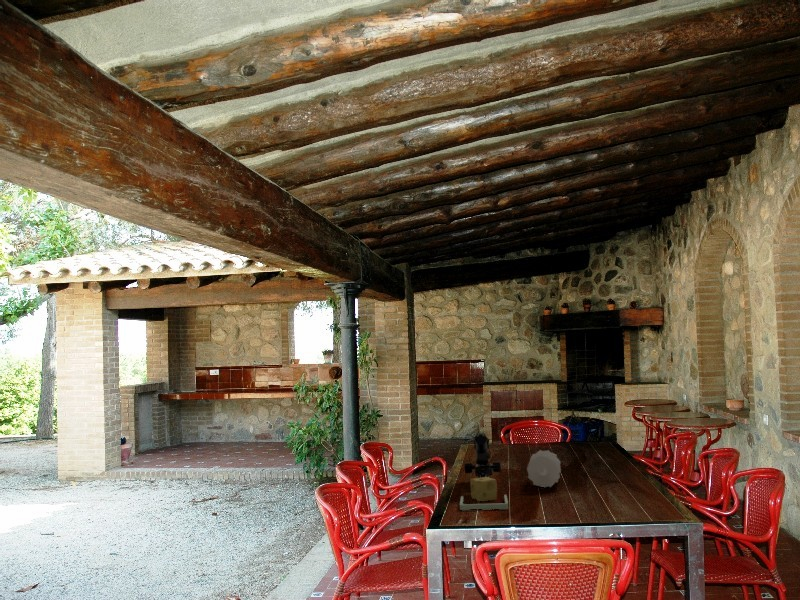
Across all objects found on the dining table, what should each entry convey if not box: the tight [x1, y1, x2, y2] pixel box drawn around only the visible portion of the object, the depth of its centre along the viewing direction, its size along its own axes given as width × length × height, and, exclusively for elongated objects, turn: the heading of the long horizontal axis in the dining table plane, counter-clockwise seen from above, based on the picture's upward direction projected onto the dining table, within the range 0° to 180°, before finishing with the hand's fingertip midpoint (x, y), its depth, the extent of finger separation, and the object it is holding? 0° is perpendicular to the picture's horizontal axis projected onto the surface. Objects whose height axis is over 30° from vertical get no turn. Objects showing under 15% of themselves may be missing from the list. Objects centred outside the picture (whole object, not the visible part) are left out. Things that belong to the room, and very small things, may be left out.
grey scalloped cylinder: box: [526, 449, 562, 488], centre depth 377 cm, size 18×18×25 cm
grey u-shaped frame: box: [459, 494, 509, 511], centre depth 338 cm, size 19×22×2 cm
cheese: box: [469, 477, 498, 502], centre depth 352 cm, size 10×11×10 cm
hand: (483, 481), depth 362 cm, fingers closed
